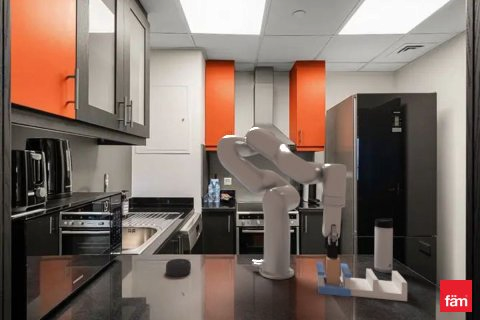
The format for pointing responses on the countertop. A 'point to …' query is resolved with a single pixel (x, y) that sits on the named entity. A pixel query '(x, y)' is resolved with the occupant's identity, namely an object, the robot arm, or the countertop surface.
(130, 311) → the countertop surface
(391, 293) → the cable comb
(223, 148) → the robot arm
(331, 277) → the cord plug
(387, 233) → the travel mug
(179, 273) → the smart speaker
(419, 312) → the countertop surface
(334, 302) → the countertop surface
